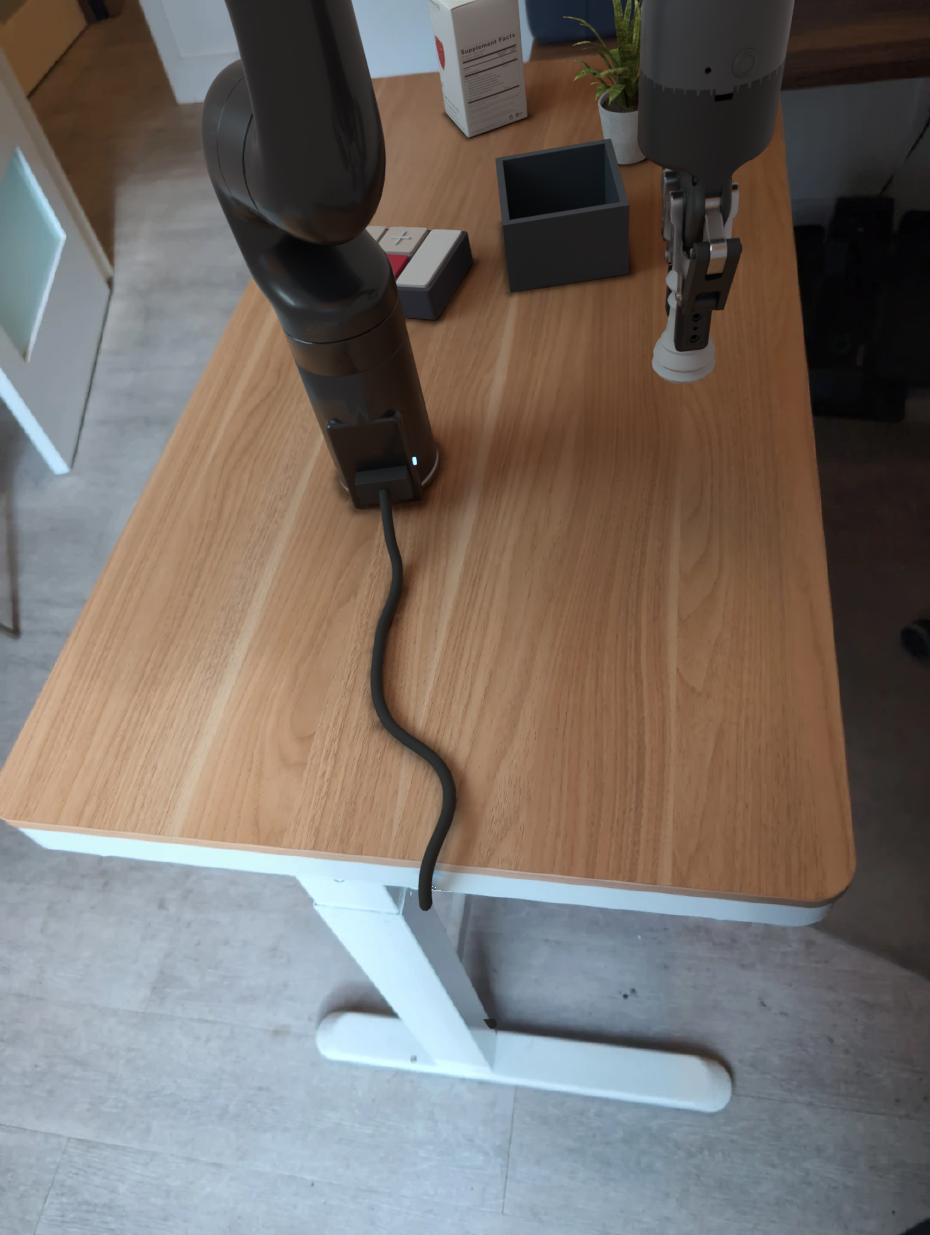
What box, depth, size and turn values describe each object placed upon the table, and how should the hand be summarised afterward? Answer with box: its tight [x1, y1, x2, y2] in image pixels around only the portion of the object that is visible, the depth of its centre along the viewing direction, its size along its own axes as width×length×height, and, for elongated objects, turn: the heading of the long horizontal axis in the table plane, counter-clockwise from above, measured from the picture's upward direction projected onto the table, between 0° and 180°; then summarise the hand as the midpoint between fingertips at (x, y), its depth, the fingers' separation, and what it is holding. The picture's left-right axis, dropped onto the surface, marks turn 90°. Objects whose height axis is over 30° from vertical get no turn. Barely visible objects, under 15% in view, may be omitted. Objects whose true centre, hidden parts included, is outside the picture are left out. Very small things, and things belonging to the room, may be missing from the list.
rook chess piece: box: [651, 266, 716, 385], centre depth 57 cm, size 4×4×8 cm
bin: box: [494, 138, 630, 293], centre depth 89 cm, size 14×13×8 cm
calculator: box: [366, 225, 474, 321], centre depth 92 cm, size 11×4×15 cm
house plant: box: [564, 0, 647, 165], centre depth 96 cm, size 14×14×16 cm
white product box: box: [427, 0, 528, 138], centre depth 107 cm, size 9×9×15 cm
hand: (685, 329), depth 58 cm, fingers closed on rook chess piece, 3 cm apart
